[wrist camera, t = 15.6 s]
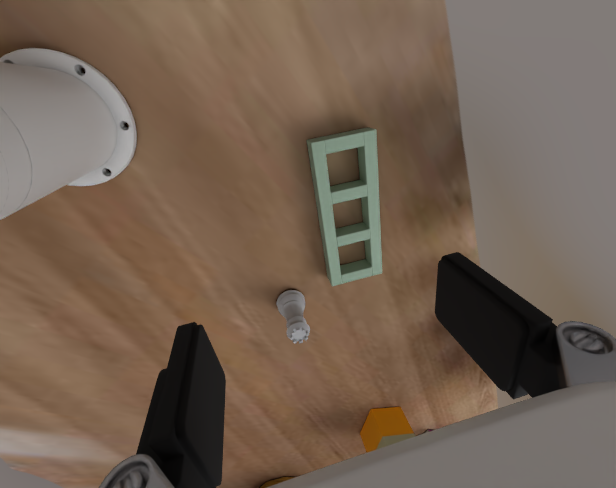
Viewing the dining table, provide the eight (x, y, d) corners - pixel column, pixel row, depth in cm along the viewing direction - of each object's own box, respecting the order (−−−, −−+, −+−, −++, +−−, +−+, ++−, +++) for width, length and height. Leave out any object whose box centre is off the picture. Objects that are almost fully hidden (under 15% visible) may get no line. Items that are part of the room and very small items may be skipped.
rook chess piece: (309, 297, 47) (322, 333, 40) (290, 315, 48) (299, 353, 41) (290, 283, 45) (300, 318, 38) (270, 302, 45) (276, 339, 38)
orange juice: (359, 433, 68) (401, 550, 50) (370, 408, 64) (419, 525, 47) (388, 430, 70) (438, 542, 53) (401, 406, 66) (459, 517, 49)
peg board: (327, 277, 46) (332, 286, 43) (306, 139, 36) (310, 142, 33) (375, 264, 47) (382, 273, 44) (368, 127, 36) (376, 129, 34)
